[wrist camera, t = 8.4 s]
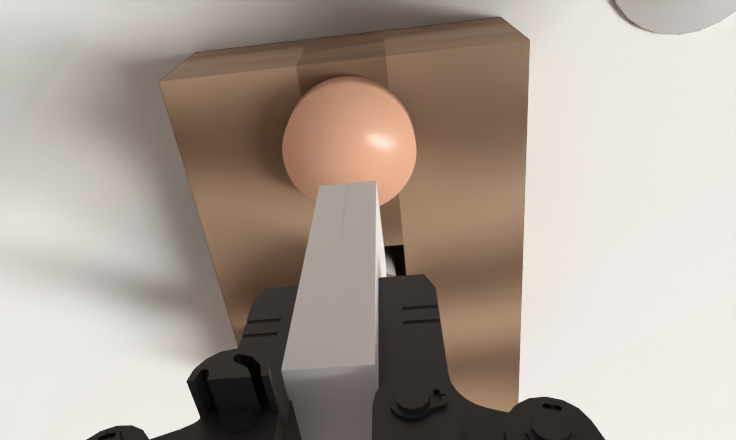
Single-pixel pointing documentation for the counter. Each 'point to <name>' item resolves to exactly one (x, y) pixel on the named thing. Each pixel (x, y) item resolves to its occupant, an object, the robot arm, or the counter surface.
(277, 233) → the brown wooden holder block
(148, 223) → the counter surface
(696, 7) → the wineglass
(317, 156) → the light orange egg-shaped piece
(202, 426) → the robot arm
